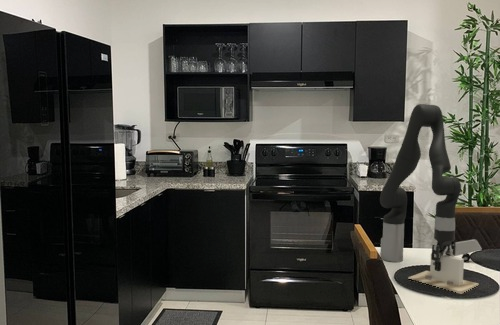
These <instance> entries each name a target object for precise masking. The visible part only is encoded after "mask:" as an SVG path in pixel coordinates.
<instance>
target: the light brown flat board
mask: <svg viewBox="0 0 500 325" xmlns="http://www.w3.org/2000/svg"><path fill="white" fill-rule="evenodd" d="M408 279H412V280H416V281H419V282H422V283H426V284H429V285H432V286H431V287H433V286H436V287H435V288H437V287H439V288H438V289H440V288H443V289H442V290H444V289H446V290H445V291H448V290H449V291H448V292H451V291H453V292H452V293H455V292H456V294H458V295H459V294H460V295H462V294H465V293H467V292H469V291H471V290H473V289H472V288H474V287H476V286H478V285H479V284H480V283H478V282H473V281H469V280H466V279H463V284H462V285H460V286H457V285H454V284H453V281H450V280H447V283H446V282H442V281H438V280H434V279H431V276H430V270H424V271H422V272H419V273H416V274H414V275H410V276H408V277H407V280H408ZM422 283H421V284H422ZM426 284H425V285H426ZM429 285H428V286H429ZM478 287H479V286H478ZM476 288H477V287H476ZM470 289H471V290H470ZM474 289H475V288H474ZM468 290H469V291H468ZM466 291H467V292H466ZM464 292H465V293H464Z"/></svg>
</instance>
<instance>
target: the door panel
mask: <svg viewBox="0 0 500 325" xmlns="http://www.w3.org/2000/svg"><path fill="white" fill-rule="evenodd" d="M431 257H432V253H430V263H429V264H430V268H429V269H430V270H429V271H430V276H431V279H434V280H438V281H442V282H446V283H447V280H450V281H453V284H454V285H457V286H460V285H462V284H463V280H464V266H465V264H464V263H465V262H464V259H462V257H457V256H454V257H453V256H448V255H444V257H442V260H441V271H436V270H435V261H434V260H432V259H431ZM434 257H435V254H434ZM439 257H440V256H439Z"/></svg>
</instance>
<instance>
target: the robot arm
mask: <svg viewBox="0 0 500 325" xmlns="http://www.w3.org/2000/svg"><path fill="white" fill-rule="evenodd" d="M410 113H411V114H410V116H409V119H408V120H409V121H408V125H407V128H406V132H405V134H404V138H403V140H402V143H401V146H400V148H399V150H398V153H397V156H396V158H395V160H394V165H393V166H392V169H391V171H390V174H389V175H388V178H387V180H386V182H385V184H384V186H383V187H382V190H381V192H380V196H379V203H380V205H381V207H383V208H385V209H391V210H390V211H389V212H388V213H386V214H384V215H383V216H382V217H383V220H382V222H383V223H382V227H383V228H382V237H381V238H380V255H379V256H380V257H381V258H380V259H382V260H383V261H387V262H390V263H391V262H392V263H398V262H399V263H400V262H403V260H404V243H405V242H404V238H405V219H406V217H407V210H408V209H407V206H408V195H407V192H406V189H404V188H403V187H401V184H402V183H403V182H404V181H406V179H407V178H409V177H410V176H411V175H412V174H413V173H414V172H415V170H416V168H418V167H417V166H418V164H419V162H420V158H421V157H422V153H421V152H422V151H421V147H420V143H419V136H420V132H421V129H422V128H430V129H431V133H432V140H431V143H430V146H429V149H428V159H429V162H430V165H431V166H430V167H431V190H432V192H433V193H434V194H435V195H436V196H440V197H442V196H446V197H445V198H444V199H443V200H439V201H437V202H436V205H435V218H434V227H433V228H434V232H433V234H434V235H433V239H434V240H436V241H437V242H436V244H432V245H431V246H432V247H431V254H432V257H431V256H430V260H431V259H432V260H434V261H435V270H436V271H441V260H442V257H444V255H448V256H453V255H455V248H456V242H457V241H456V238H455V237H456V206H457V204H458V199H459V197H460V194H461V191H462V184H461V181H460V180H459V178H457V177H454V176H449V177H447V176H446V177H445V176H443V174H446V173H448V172H450V171H451V168H452V166H451V162H450V158H449V155H448V150H447V145H446V139H445V137H446V136H445V126H444V116H443V112H442V109H441V108H440V107H439V106H438V105H435V104H427V103H426V104H425V103H419V104H416V105H415V106H414V107H413V109H412V111H411V112H410ZM452 249H453V251H452ZM434 254H435V257H434ZM439 256H440V257H439Z"/></svg>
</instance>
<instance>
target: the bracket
mask: <svg viewBox="0 0 500 325" xmlns="http://www.w3.org/2000/svg"><path fill="white" fill-rule="evenodd" d="M482 249H483V248H482V246H481V244H480V243H479V241H478V240H477V239H474V238H472V239H467V240H461V241H456V248H455V255H453V257H457V256H461V255H462V256H461V258H462V259H464V263H468V262H470V260H471V255H470V253H475V252H479V251H482ZM452 251H453V249H452Z"/></svg>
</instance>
